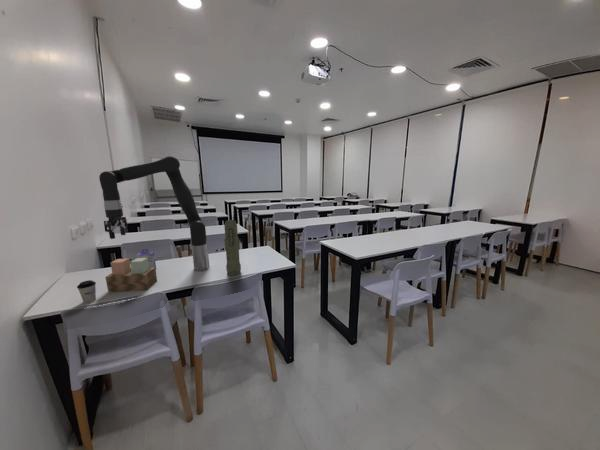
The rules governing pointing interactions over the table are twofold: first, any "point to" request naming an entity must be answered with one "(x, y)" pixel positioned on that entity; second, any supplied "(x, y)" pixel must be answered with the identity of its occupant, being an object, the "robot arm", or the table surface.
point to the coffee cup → (87, 291)
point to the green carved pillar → (232, 248)
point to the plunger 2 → (139, 265)
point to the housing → (131, 281)
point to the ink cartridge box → (148, 255)
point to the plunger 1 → (120, 266)
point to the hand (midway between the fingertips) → (118, 236)
